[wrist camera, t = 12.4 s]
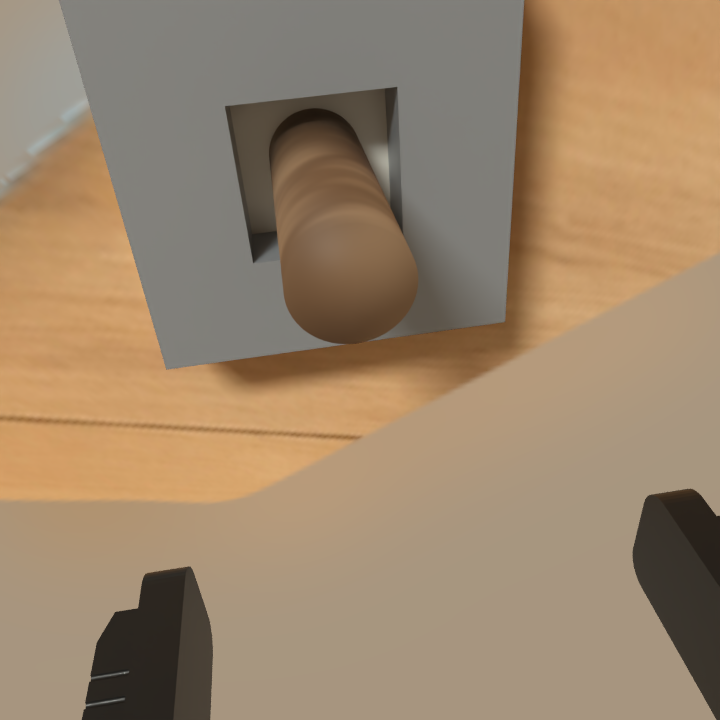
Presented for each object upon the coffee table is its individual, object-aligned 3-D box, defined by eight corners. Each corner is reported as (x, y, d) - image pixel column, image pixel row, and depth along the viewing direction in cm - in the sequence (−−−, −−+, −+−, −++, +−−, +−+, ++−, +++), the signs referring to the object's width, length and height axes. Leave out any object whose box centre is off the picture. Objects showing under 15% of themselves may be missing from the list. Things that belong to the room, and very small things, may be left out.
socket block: (493, -79, 27) (528, -74, 23) (481, 282, 36) (504, 322, 33) (74, -40, 26) (50, -28, 22) (173, 324, 35) (166, 369, 32)
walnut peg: (357, 103, 29) (416, 214, 19) (363, 193, 31) (420, 334, 21) (262, 113, 29) (273, 232, 19) (276, 204, 31) (292, 352, 21)
